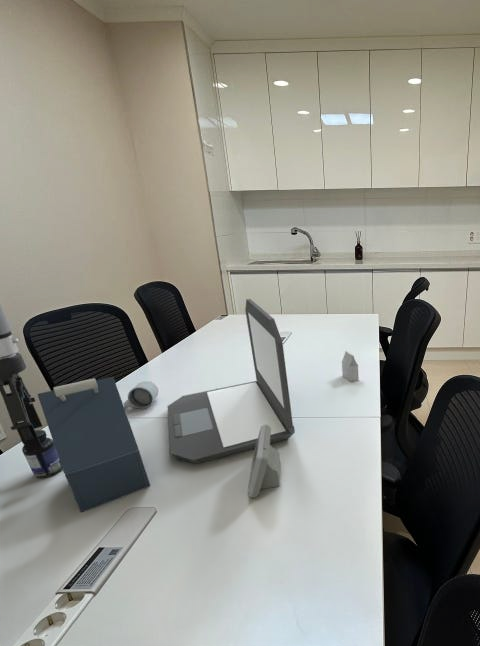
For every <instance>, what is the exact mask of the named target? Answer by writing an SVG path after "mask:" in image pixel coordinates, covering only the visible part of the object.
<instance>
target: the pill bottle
mask: <svg viewBox="0 0 480 646" xmlns="http://www.w3.org/2000/svg"><path fill="white" fill-rule="evenodd" d="M35 432H36V434H37V436H38V438H39V441H40V443H41V445H42V447H43V449H40V450H36V451H33V452H29V453H28V452H27V450H26V448H25V446H24V445H23V446H22V448H21V451H22V453H23V455H24V457H25V460H26V462H27V464H28V466H29V468H30V470H31V472H32V474H33V476H34V477H35V478H36V479H45V478H49V477H52V476H54V475H57V474H58V473H60V472H61V471H63V469H62V466H61V463H60V460H59V457H58V454H57V451H56V448H55V445H54V442H53V439H52V438H50V437H47V435H48V434H47V433H46V430H44V429H35ZM20 441H21V443H22V444H23V442H22V440H21V439H20Z"/></svg>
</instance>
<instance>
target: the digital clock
mask: <svg viewBox="0 0 480 646" xmlns="http://www.w3.org/2000/svg"><path fill="white" fill-rule="evenodd" d="M270 434H271V428H270V427H269V426H268V425H263V426H261V429H260V432H259V436H258V440H257V444H256V447H255V448H254V451H253V456H252V461H251V467H250V475H249V481H248V486H247V487H248V489H247V495H248V496H249V497H250V498H251V499H254V498H257V497H258V496H259V495H260V492H261V490H262V489H263V490H264V489H269V488H278V487H280V486H281V468H282V467H281V465H282V464H281V457H280V452H279V450H278V449H277V448H274V447H273V446H272V444H270Z"/></svg>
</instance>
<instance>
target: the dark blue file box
mask: <svg viewBox="0 0 480 646" xmlns="http://www.w3.org/2000/svg"><path fill="white" fill-rule="evenodd" d="M64 476H65V479H66V481H67V484H68V485H69V488H70V490H71V493H72V495H73V497H74V500H75V502H76V504H77V507H78V509H79V511H80V513H83V512H85V511H88V510H91V509H93V508H96V507H99V506H102V505H104V504H106V503H107V504H108V503H109V502H112V501H114V500H117V499H120V498H123V497H125V496H127V495H131V494H133V493H136V492H138V491H141V490H143V489H145V488H149V487H151V484H150V480H149V476H148V474H147V471H146V467H145V465H144V462H143V459H142V456H141V452H140V449H139V450H136V451H133V452H130V453H127V454H124V455H121V456H118V457H115V458H112V459H108V460H105V461H102V462H99V463H96V464H93V465H90V466H87V467H84V468H81V469H78V470H75V471H72V472H69V473H66V474H64Z"/></svg>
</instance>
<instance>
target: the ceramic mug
mask: <svg viewBox="0 0 480 646" xmlns="http://www.w3.org/2000/svg"><path fill="white" fill-rule="evenodd" d="M158 395H159V387H158V386H157V384H155V383H154V382H152V381H149V380H144V381H141V382H139V383H137V384H136V385H135V386H134V387H132V389H130V391H129V392H128V394H127V400H125V401H124V402H123V406H124V407H126V408H128V407H131V406H132V407H134V408H135V409H139V410H141V409H143V410H144V409H147V408H149V407H151V406H152V405H153V403H154V402H155V400H156V399H157V397H158Z"/></svg>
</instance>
